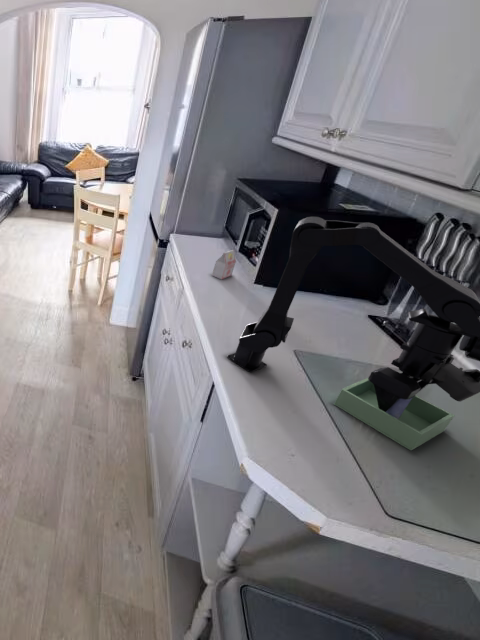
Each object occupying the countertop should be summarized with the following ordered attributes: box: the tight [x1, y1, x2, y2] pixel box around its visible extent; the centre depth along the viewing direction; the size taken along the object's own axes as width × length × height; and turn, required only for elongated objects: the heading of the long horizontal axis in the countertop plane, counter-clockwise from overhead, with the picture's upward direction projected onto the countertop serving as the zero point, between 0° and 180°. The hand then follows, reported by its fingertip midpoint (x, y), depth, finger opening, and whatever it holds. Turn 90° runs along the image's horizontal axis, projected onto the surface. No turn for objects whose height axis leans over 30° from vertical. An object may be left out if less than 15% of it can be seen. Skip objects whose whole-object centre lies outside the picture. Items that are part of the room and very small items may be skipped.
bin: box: [333, 377, 456, 451], centre depth 85 cm, size 13×13×4 cm
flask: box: [386, 397, 413, 419], centre depth 84 cm, size 9×3×11 cm, turn 129°
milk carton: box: [211, 249, 237, 280], centre depth 147 cm, size 4×7×10 cm, turn 120°
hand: (393, 404), depth 85 cm, fingers closed on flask, 9 cm apart
